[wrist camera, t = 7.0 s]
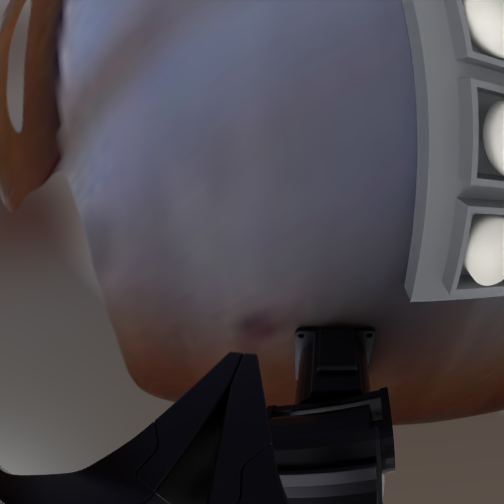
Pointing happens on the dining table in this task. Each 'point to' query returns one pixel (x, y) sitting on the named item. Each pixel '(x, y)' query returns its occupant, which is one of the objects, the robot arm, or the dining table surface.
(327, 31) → the dining table surface
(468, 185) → the button board
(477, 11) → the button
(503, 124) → the button middle
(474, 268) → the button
